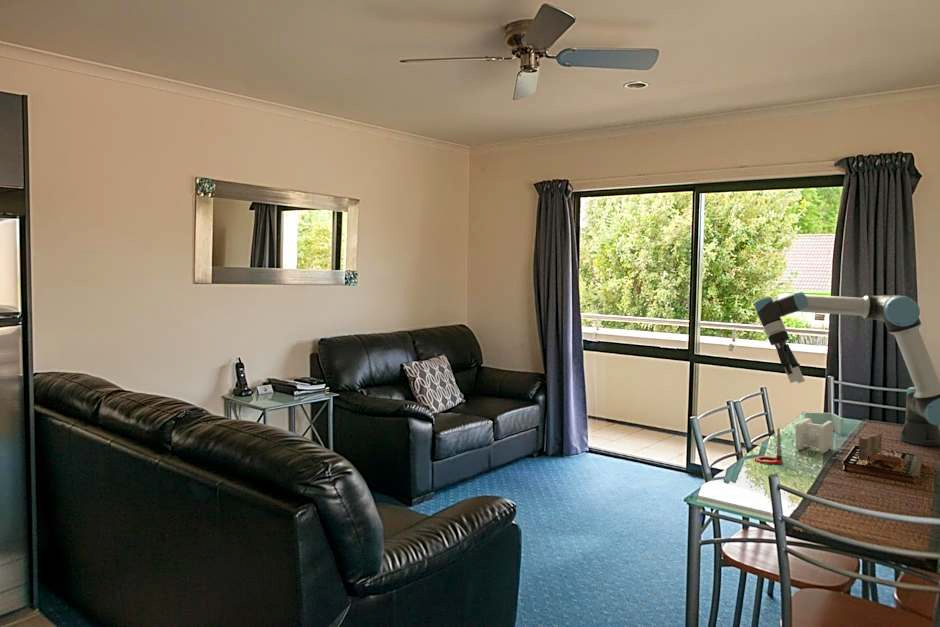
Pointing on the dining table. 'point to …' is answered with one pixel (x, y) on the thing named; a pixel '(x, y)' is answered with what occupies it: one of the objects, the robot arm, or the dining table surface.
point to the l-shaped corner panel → (824, 417)
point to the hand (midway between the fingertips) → (798, 382)
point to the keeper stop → (869, 445)
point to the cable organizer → (814, 435)
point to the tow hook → (779, 457)
